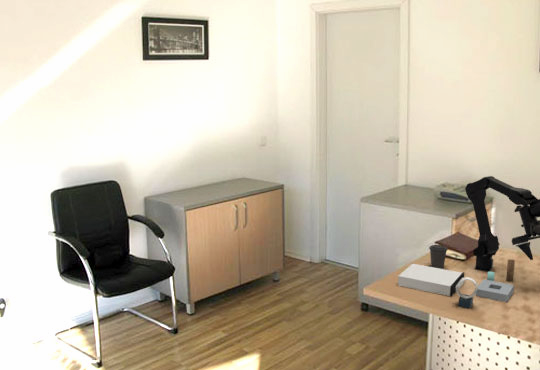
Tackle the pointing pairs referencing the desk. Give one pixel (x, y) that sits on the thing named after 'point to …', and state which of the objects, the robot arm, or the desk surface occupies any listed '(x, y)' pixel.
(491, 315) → the desk surface
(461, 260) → the desk surface
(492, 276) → the teal pin
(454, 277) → the disc drive
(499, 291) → the block
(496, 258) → the desk surface
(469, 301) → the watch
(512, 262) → the walnut pin
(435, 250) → the coffee cup
